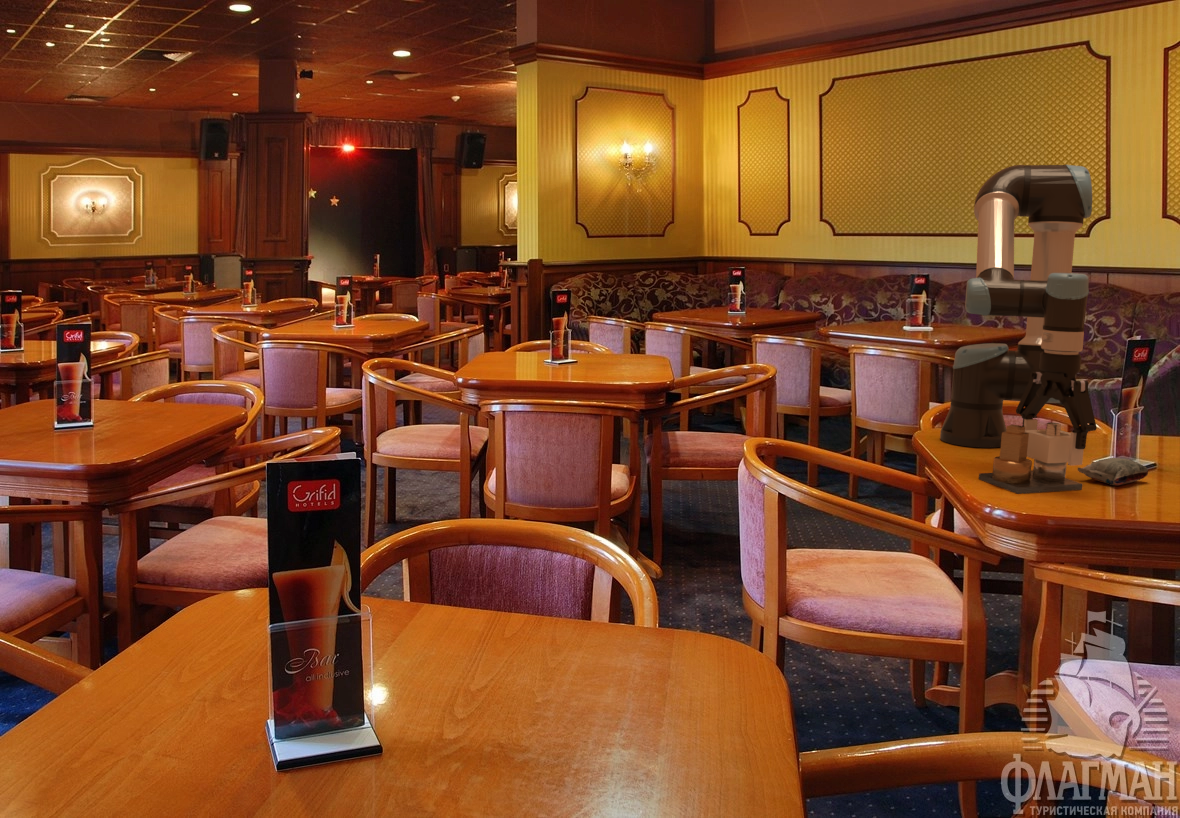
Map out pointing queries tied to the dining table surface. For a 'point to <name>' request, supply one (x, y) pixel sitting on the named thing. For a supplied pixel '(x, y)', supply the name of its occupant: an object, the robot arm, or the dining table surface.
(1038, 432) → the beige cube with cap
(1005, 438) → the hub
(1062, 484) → the jig plate
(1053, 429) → the stand
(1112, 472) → the packaged food
